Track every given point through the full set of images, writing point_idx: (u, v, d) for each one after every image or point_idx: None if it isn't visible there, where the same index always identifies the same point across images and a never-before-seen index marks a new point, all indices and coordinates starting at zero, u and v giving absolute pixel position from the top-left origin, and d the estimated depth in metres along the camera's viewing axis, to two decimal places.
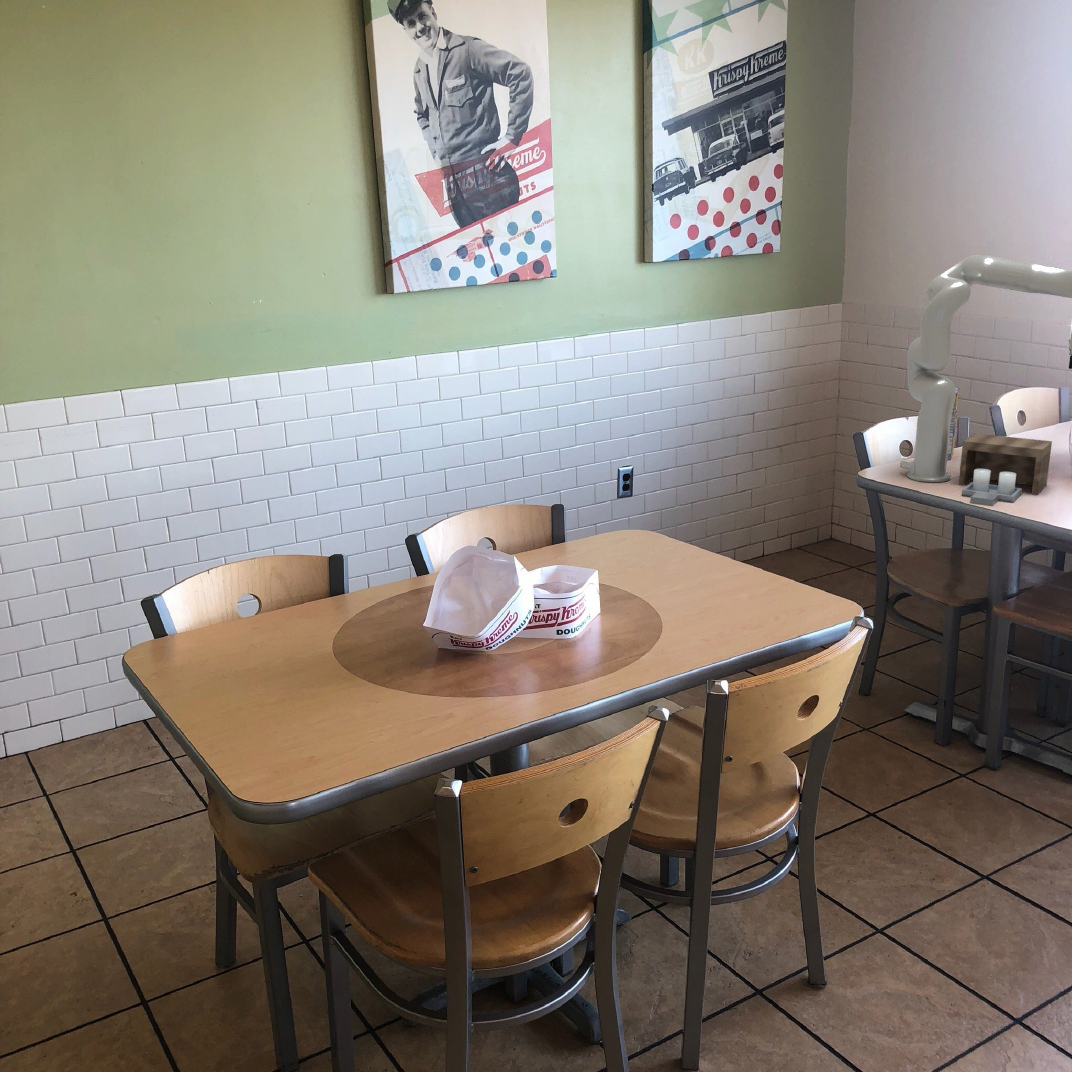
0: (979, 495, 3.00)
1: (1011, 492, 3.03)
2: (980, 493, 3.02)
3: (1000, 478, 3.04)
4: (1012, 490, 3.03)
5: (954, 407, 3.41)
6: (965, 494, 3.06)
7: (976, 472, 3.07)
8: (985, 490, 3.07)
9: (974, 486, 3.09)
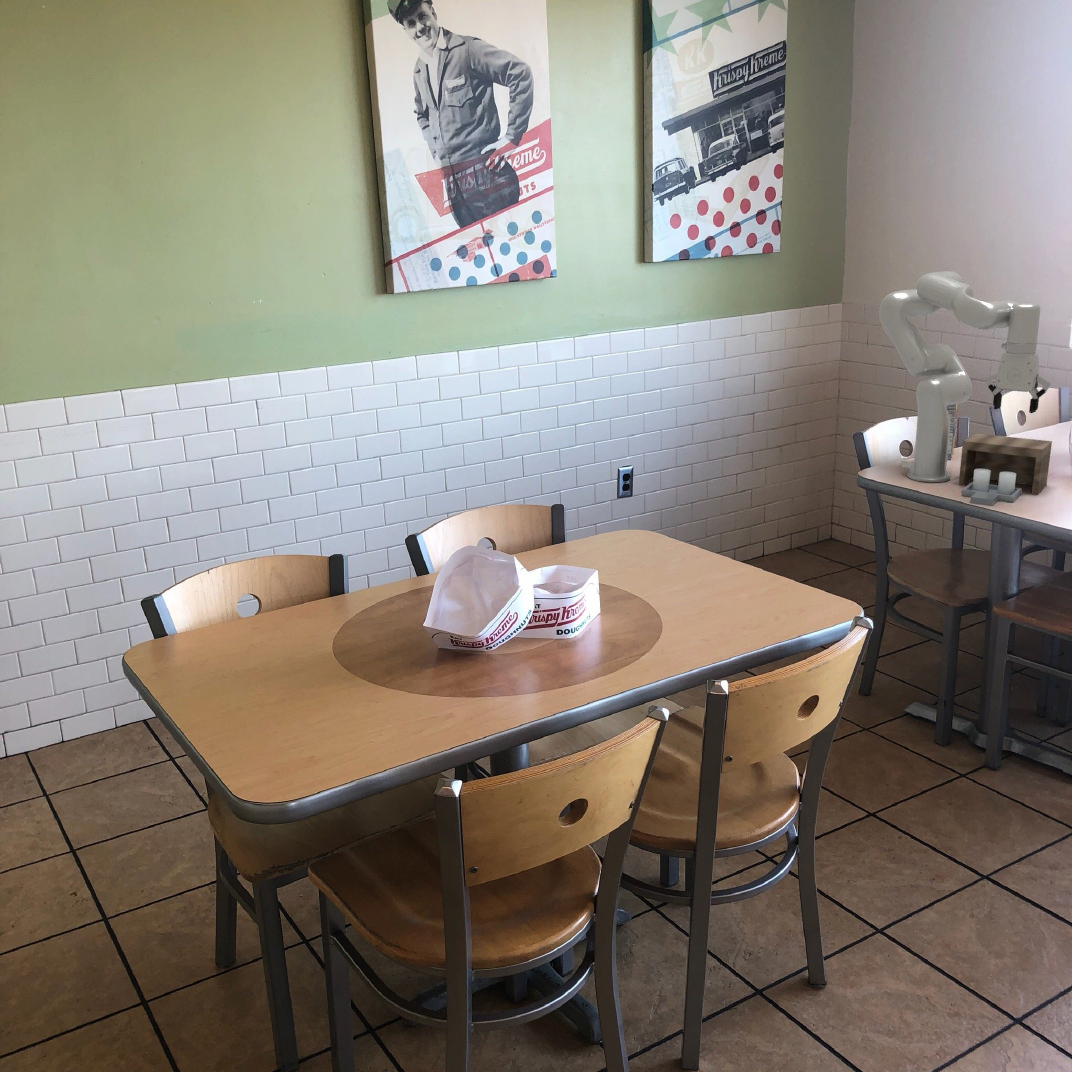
0: (979, 495, 3.00)
1: (1011, 492, 3.03)
2: (980, 493, 3.02)
3: (1000, 478, 3.04)
4: (1012, 490, 3.03)
5: (954, 407, 3.41)
6: (965, 494, 3.06)
7: (976, 472, 3.07)
8: (985, 490, 3.07)
9: (974, 486, 3.09)
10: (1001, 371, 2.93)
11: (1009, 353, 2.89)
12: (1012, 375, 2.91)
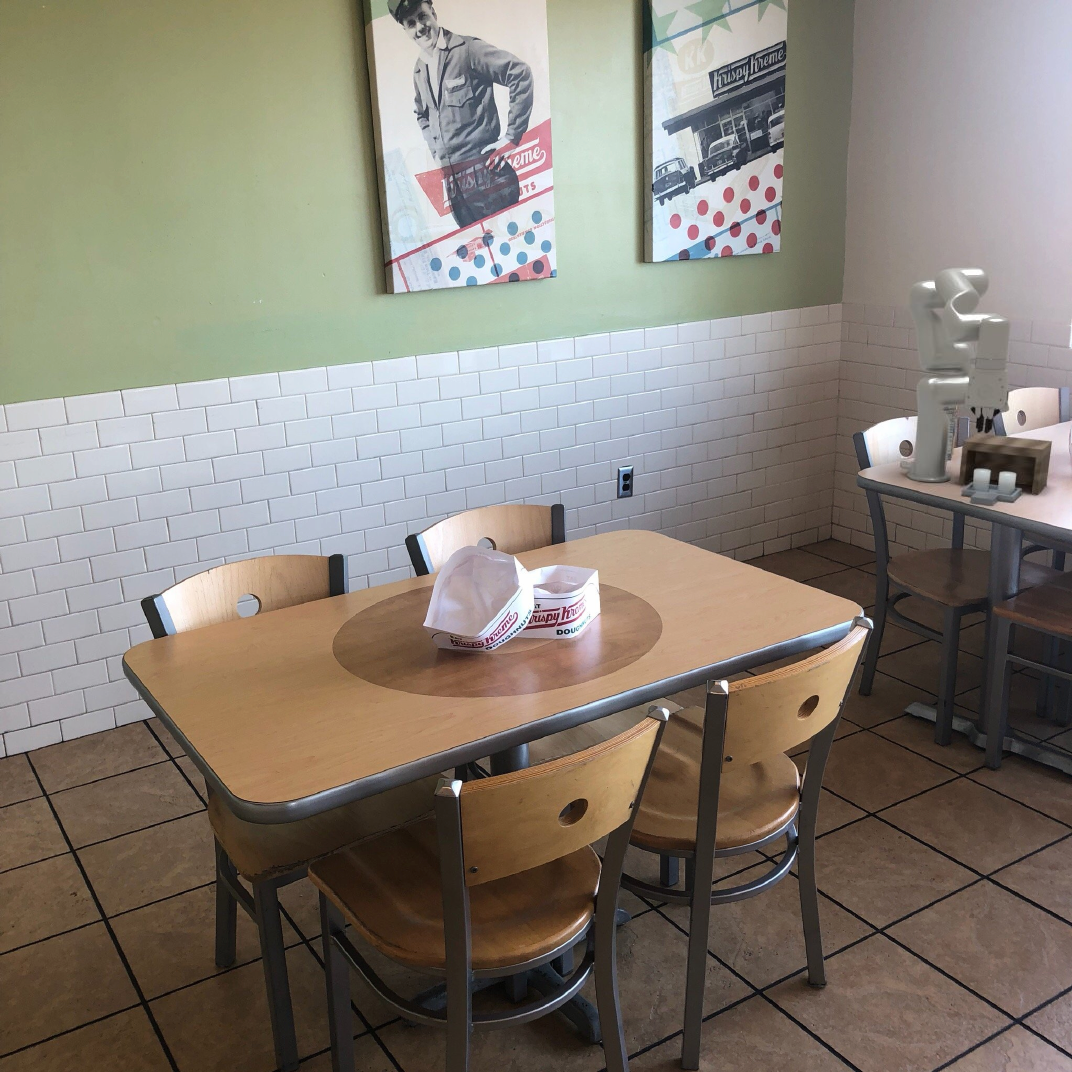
0: (979, 495, 3.00)
1: (1011, 492, 3.03)
2: (980, 493, 3.02)
3: (1000, 478, 3.04)
4: (1012, 490, 3.03)
5: (954, 407, 3.41)
6: (965, 494, 3.06)
7: (976, 472, 3.07)
8: (985, 490, 3.07)
9: (974, 486, 3.09)
10: (971, 387, 2.83)
11: (980, 369, 2.80)
12: (983, 391, 2.82)
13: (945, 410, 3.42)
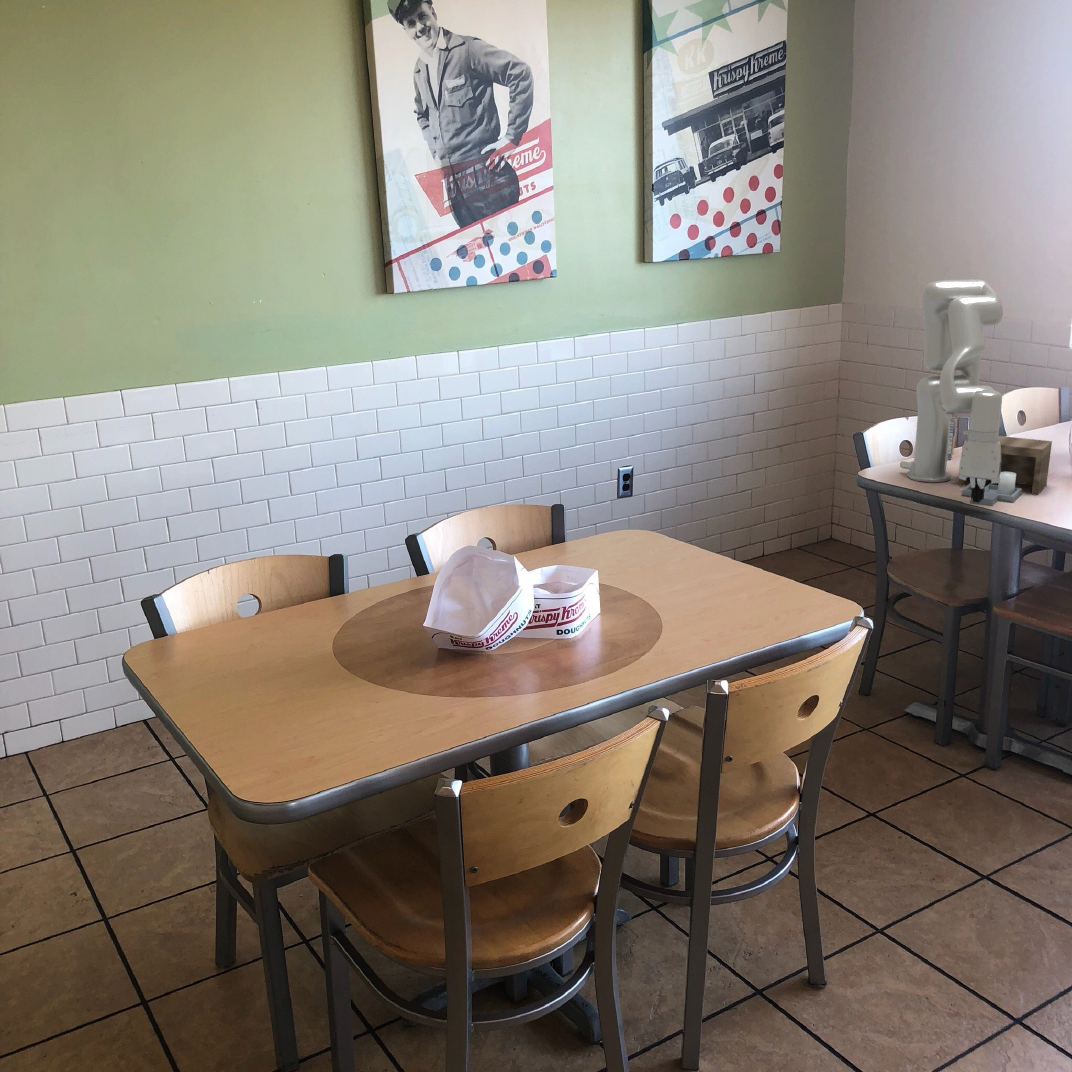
0: None
1: (1011, 492, 3.03)
2: None
3: (1000, 478, 3.04)
4: (1012, 490, 3.03)
5: None
6: (965, 494, 3.06)
7: None
8: (985, 490, 3.07)
9: None
10: (964, 458, 2.89)
11: (972, 441, 2.86)
12: (976, 463, 2.87)
13: None
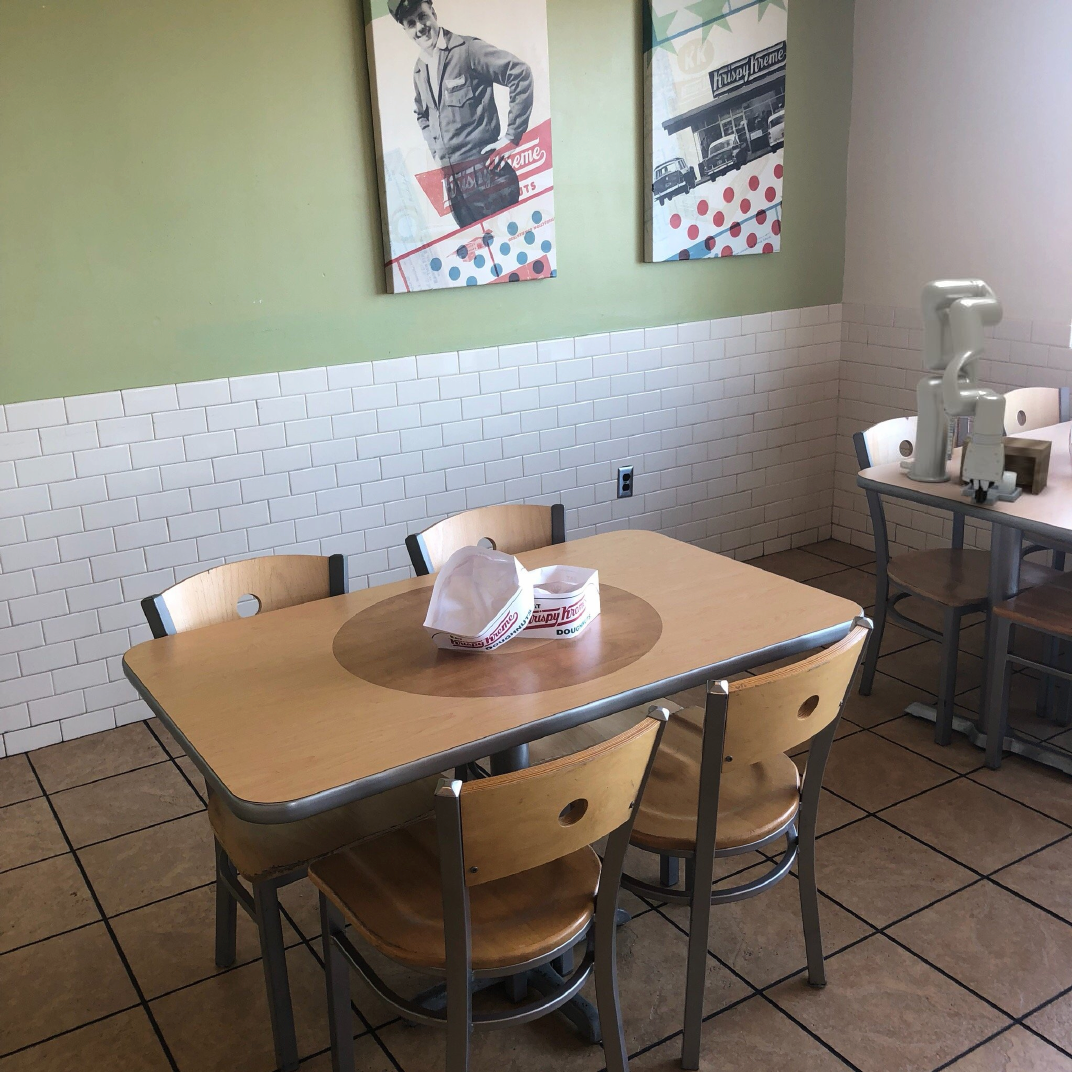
0: None
1: (1011, 492, 3.04)
2: None
3: None
4: (1012, 490, 3.04)
5: None
6: (965, 494, 3.06)
7: None
8: None
9: None
10: (968, 460, 2.93)
11: (976, 443, 2.90)
12: (979, 465, 2.92)
13: (945, 410, 3.42)
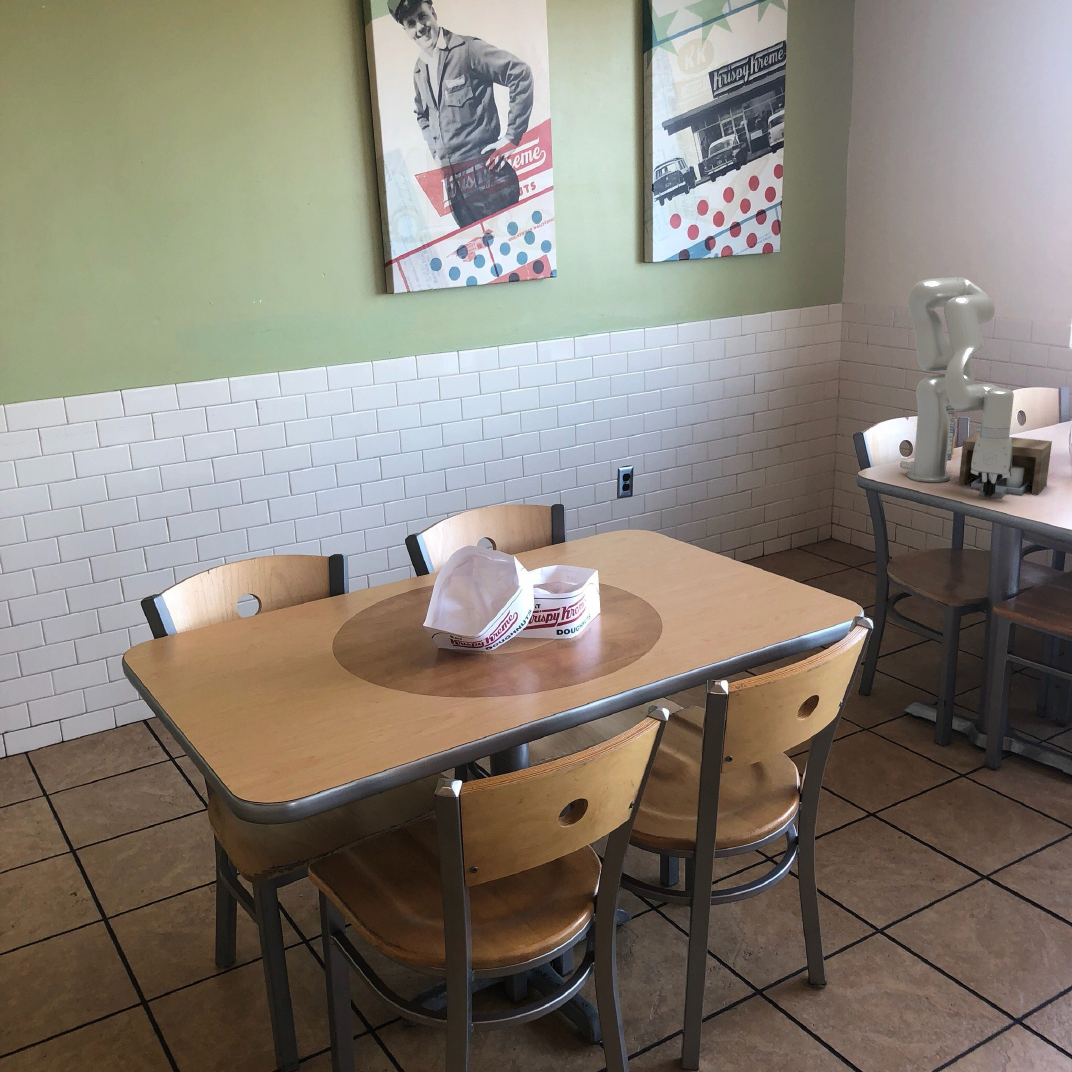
0: None
1: (1019, 485, 3.10)
2: None
3: None
4: (1020, 483, 3.10)
5: None
6: (974, 487, 3.12)
7: None
8: None
9: None
10: (976, 454, 3.00)
11: (985, 437, 2.96)
12: (987, 458, 2.98)
13: None
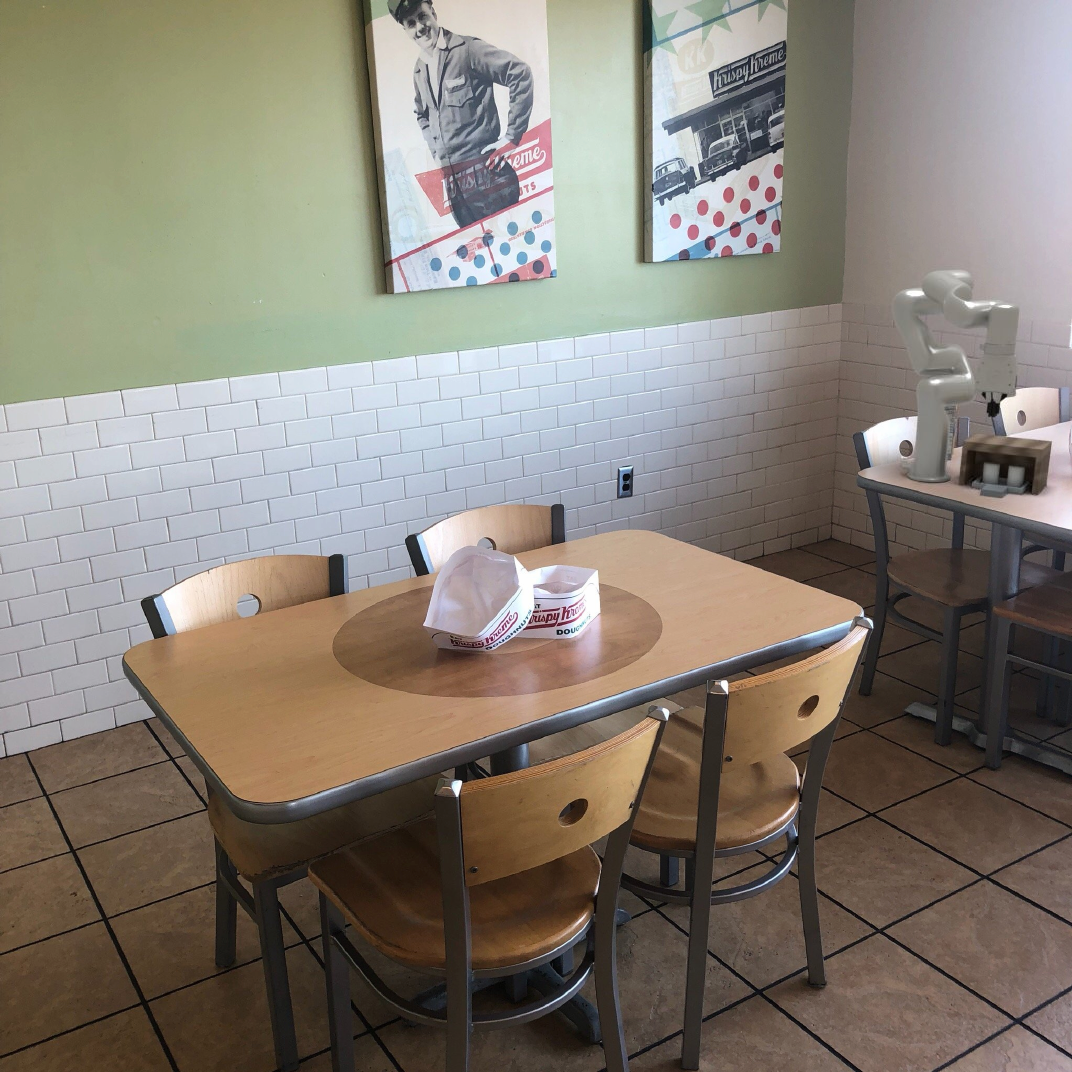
0: (988, 488, 3.07)
1: (1020, 485, 3.10)
2: (990, 485, 3.09)
3: (1009, 471, 3.11)
4: (1021, 483, 3.10)
5: (954, 407, 3.41)
6: (975, 487, 3.13)
7: (986, 465, 3.14)
8: (995, 483, 3.14)
9: (984, 479, 3.16)
10: (980, 372, 2.89)
11: (989, 354, 2.86)
12: (992, 376, 2.87)
13: (945, 410, 3.42)
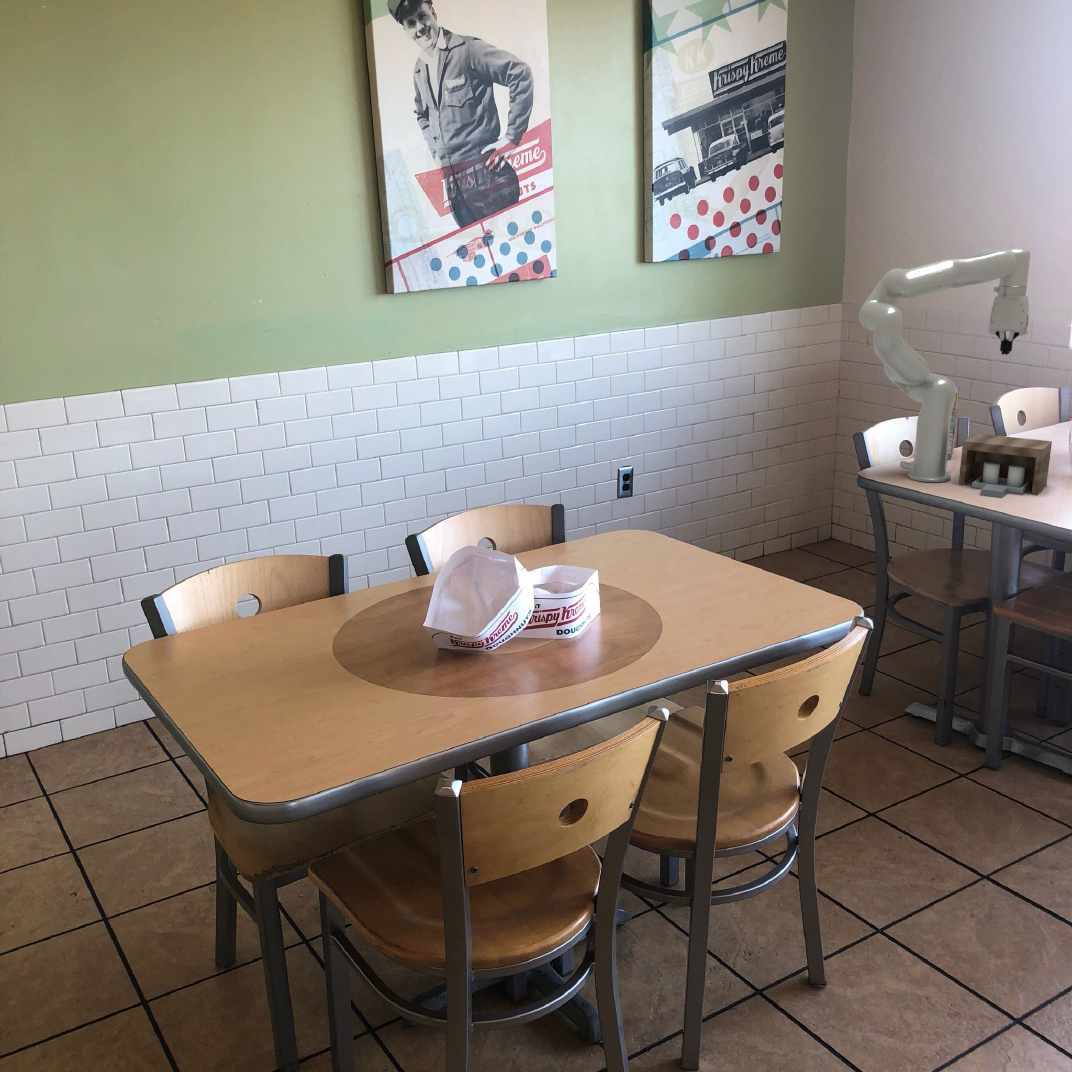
0: (988, 488, 3.07)
1: (1020, 485, 3.10)
2: (990, 485, 3.09)
3: (1009, 471, 3.11)
4: (1021, 483, 3.10)
5: (954, 407, 3.41)
6: (975, 487, 3.13)
7: (986, 465, 3.14)
8: (995, 483, 3.14)
9: (984, 479, 3.16)
10: (994, 313, 3.14)
11: (1002, 295, 3.11)
12: (1005, 316, 3.13)
13: None
